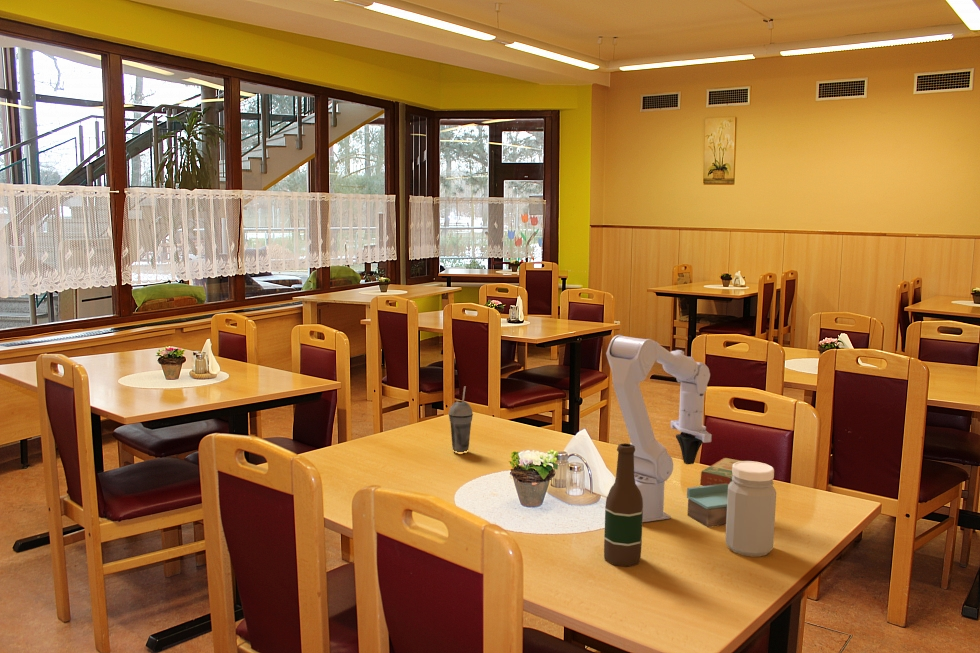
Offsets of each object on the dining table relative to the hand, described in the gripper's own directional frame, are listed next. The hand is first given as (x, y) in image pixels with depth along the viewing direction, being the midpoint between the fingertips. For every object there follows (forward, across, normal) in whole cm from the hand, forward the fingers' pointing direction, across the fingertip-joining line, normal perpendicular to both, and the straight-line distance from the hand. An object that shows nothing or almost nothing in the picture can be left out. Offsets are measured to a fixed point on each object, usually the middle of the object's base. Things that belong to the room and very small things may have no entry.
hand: (688, 463), depth 195 cm
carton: (+10, +10, -19) cm, 24 cm away
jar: (+10, -30, +5) cm, 32 cm away
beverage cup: (+10, +57, +41) cm, 71 cm away
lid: (+5, -12, 0) cm, 13 cm away
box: (+9, -13, 0) cm, 16 cm away
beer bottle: (+10, -26, +33) cm, 43 cm away
